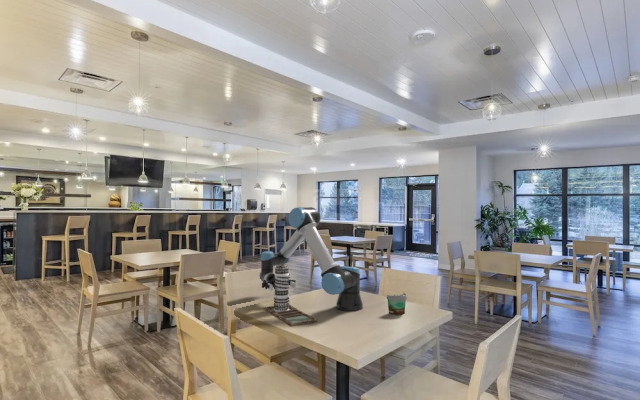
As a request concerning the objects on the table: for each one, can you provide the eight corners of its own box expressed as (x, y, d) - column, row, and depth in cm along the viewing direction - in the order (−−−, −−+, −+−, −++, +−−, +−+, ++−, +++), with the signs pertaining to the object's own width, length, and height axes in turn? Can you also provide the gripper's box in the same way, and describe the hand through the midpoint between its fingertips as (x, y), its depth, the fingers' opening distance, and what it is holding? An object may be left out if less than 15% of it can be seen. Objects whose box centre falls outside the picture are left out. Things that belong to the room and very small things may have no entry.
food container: (393, 316, 185) (393, 297, 185) (386, 313, 190) (386, 295, 190) (412, 313, 190) (411, 295, 191) (404, 310, 196) (404, 292, 196)
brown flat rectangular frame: (265, 308, 198) (265, 307, 198) (288, 305, 205) (288, 303, 205) (291, 326, 169) (291, 324, 169) (317, 321, 176) (317, 319, 176)
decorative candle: (293, 309, 196) (293, 264, 197) (280, 313, 190) (281, 266, 190) (282, 306, 203) (282, 263, 203) (269, 310, 196) (270, 264, 196)
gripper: (291, 284, 218) (304, 291, 199) (251, 287, 207) (261, 296, 188) (291, 272, 218) (304, 278, 199) (251, 275, 208) (261, 281, 188)
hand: (283, 286), depth 193 cm, fingers open, 13 cm apart
